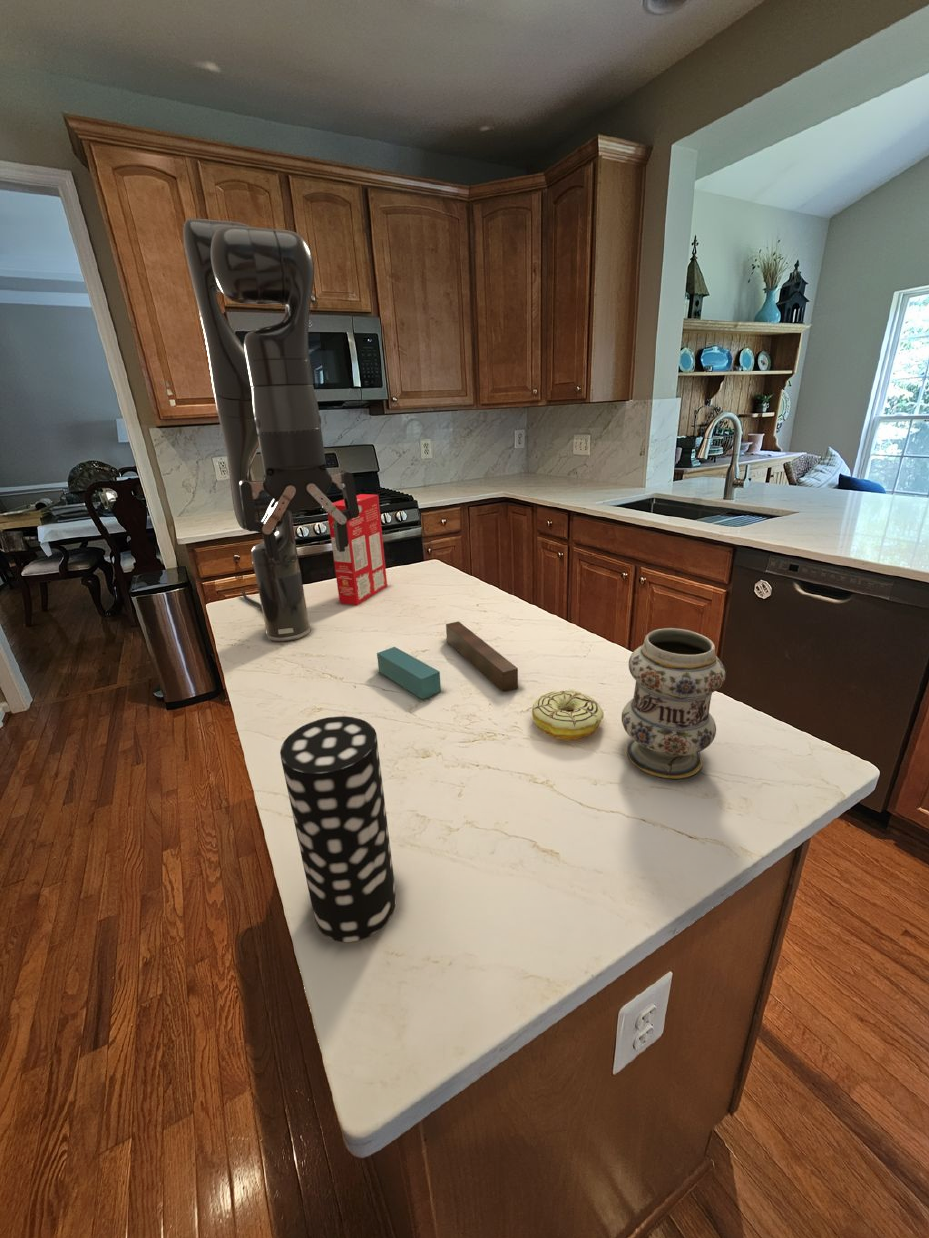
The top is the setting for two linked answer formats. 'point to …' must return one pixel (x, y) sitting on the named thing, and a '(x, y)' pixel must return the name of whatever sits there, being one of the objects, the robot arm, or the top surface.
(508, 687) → the walnut rail
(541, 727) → the decorated donut
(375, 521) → the food packaging
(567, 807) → the top surface
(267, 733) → the top surface
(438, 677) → the teal bar
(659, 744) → the apothecary jar
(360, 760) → the spotted tube
